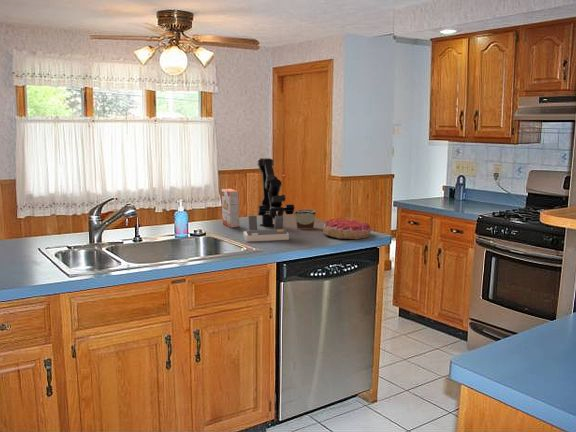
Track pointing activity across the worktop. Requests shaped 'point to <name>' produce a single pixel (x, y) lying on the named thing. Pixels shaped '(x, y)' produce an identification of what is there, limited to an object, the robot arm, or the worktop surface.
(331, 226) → the cake
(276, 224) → the grey rectangular carton
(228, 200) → the cracker box
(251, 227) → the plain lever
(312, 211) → the food container
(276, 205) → the robot arm
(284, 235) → the switch panel
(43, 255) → the worktop surface
